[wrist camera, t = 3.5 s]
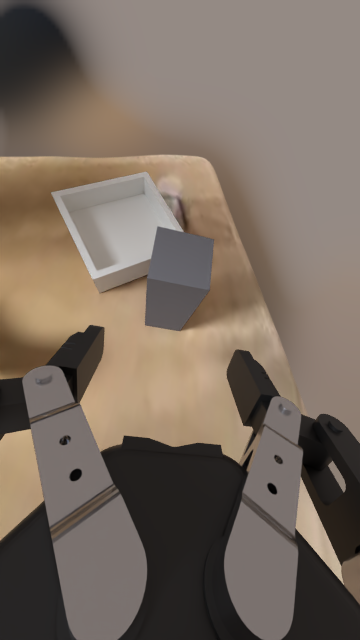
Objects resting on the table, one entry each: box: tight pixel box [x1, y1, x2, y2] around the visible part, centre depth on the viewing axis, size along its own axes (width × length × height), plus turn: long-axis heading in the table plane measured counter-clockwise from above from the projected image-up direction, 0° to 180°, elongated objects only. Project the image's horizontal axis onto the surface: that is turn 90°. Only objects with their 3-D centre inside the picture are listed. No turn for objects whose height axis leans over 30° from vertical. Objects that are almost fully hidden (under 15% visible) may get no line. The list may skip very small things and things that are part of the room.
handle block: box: [145, 226, 214, 331], centre depth 20 cm, size 4×4×12 cm
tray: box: [51, 172, 184, 293], centre depth 26 cm, size 13×13×4 cm
